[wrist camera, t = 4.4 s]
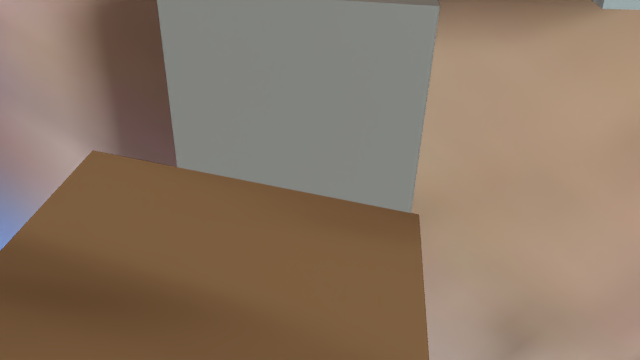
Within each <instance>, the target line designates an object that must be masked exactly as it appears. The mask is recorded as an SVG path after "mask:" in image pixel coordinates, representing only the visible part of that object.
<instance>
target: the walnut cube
mask: <svg viewBox="0 0 640 360" xmlns="http://www.w3.org/2000/svg"><path fill="white" fill-rule="evenodd" d="M0 360H429V351H428V337H427V322H426V308H425V294H424V280H423V265H422V251H421V237H420V223H419V215H418V214H413V213H408V212H403V211H398V210H393V209H388V208H383V207H378V206H373V205H367V204H362V203H357V202H352V201H347V200H342V199H337V198H332V197H327V196H322V195H317V194H311V193H306V192H301V191H296V190H291V189H286V188H281V187H276V186H271V185H266V184H260V183H255V182H250V181H245V180H240V179H235V178H230V177H225V176H220V175H215V174H210V173H204V172H199V171H194V170H189V169H184V168H179V167H174V166H169V165H164V164H159V163H154V162H148V161H143V160H138V159H133V158H128V157H123V156H118V155H113V154H108V153H103V152H97V151H92V152H91V153H90V154H89V155H88V156H87V157H86V159H85V160H84V161H83V162H82V163H81V164H80V165H79V166H78V167H77V168H76V169H75V170H74V172H73V173H72V174H71V175H70V176H69V177H68V178H67V179H66V180H65V181H64V182H63V184H62V185H61V186H60V187H59V188H58V189H57V190H56V191H55V192H54V193H53V194H52V195H51V197H50V198H49V199H48V200H47V201H46V202H45V203H44V204H43V205H42V206H41V207H40V209H39V210H38V211H37V212H36V213H35V214H34V215H33V216H32V217H31V218H30V219H29V220H28V222H27V223H26V224H25V225H24V226H23V227H22V228H21V229H20V230H19V231H18V232H17V234H16V235H15V236H14V237H13V238H12V239H11V240H10V241H9V242H8V243H7V244H6V245H5V247H4V248H3V249H2V250H1V251H0Z"/></svg>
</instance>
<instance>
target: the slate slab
mask: <svg viewBox="0 0 640 360" xmlns="http://www.w3.org/2000/svg"><path fill="white" fill-rule="evenodd" d="M157 5H158V14H159V22H160V30H161V38H162V46H163V55H164V63H165V71H166V79H167V88H168V96H169V104H170V112H171V120H172V129H173V137H174V145H175V153H176V161H177V167H179V168H184V169H189V170H194V171H199V172H204V173H210V174H215V175H220V176H225V177H230V178H235V179H240V180H245V181H250V182H255V183H260V184H266V185H271V186H276V187H281V188H286V189H291V190H296V191H301V192H306V193H311V194H317V195H322V196H327V197H332V198H337V199H342V200H347V201H352V202H357V203H362V204H367V205H373V206H378V207H383V208H388V209H393V210H398V211H403V212H408V213H411V209H412V202H413V195H414V188H415V181H416V174H417V166H418V159H419V152H420V145H421V138H422V131H423V124H424V116H425V109H426V102H427V95H428V88H429V81H430V74H431V66H432V59H433V52H434V45H435V38H436V31H437V24H438V16H439V9H440V4H439V0H157Z"/></svg>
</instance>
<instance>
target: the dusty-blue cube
mask: <svg viewBox="0 0 640 360" xmlns="http://www.w3.org/2000/svg"><path fill="white" fill-rule="evenodd" d="M592 1H593V2H595V3H596V4H597V5H598V6H599V7H601V8H602V9H632V10H640V0H592Z"/></svg>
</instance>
